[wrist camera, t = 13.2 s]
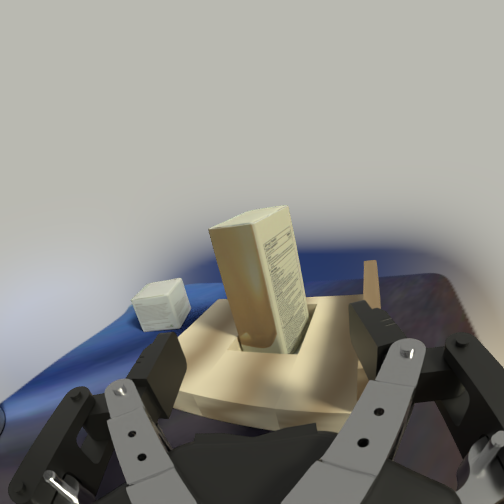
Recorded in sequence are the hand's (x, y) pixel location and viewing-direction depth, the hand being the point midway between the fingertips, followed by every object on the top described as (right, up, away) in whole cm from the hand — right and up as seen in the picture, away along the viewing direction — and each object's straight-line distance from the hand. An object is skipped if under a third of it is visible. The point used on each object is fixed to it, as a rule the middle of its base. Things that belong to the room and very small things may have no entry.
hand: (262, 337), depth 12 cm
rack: (+1, -6, +11) cm, 12 cm away
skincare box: (+2, -5, +13) cm, 14 cm away
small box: (-12, -6, +23) cm, 27 cm away
